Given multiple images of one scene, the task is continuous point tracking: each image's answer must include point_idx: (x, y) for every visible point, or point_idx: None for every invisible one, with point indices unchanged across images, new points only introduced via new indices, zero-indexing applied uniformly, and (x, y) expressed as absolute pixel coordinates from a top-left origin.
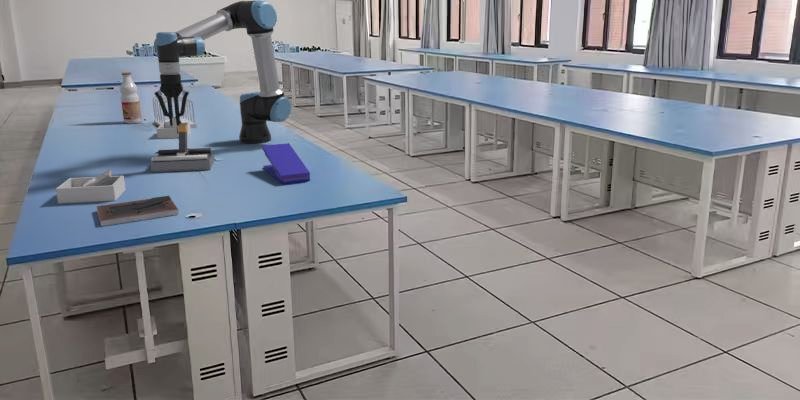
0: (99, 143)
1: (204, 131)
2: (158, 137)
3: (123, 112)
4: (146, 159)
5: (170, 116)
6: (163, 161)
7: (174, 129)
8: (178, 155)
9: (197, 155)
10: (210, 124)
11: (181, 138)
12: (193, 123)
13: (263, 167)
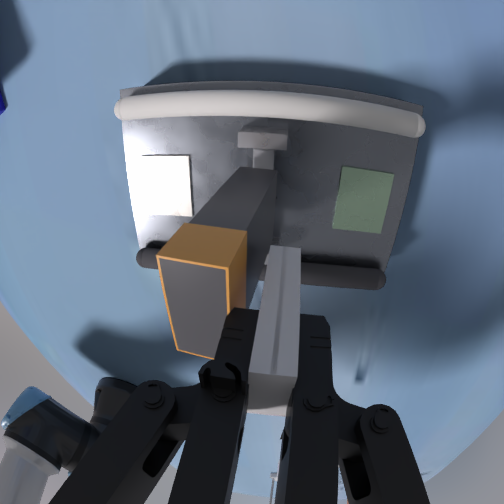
0: (439, 430)
1: (254, 460)
2: None
3: None
4: (403, 320)
5: (316, 397)
6: None
7: (288, 274)
8: (278, 131)
9: (164, 100)
10: (250, 474)
11: (238, 202)
12: (275, 478)
13: (3, 108)
